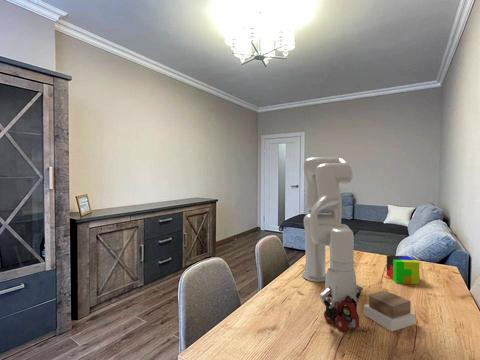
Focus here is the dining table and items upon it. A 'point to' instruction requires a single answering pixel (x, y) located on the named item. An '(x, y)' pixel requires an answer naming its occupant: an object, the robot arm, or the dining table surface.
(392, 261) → the puzzle toy
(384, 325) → the grey block
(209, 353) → the dining table surface
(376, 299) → the walnut block
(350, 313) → the toy fire truck
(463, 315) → the dining table surface
